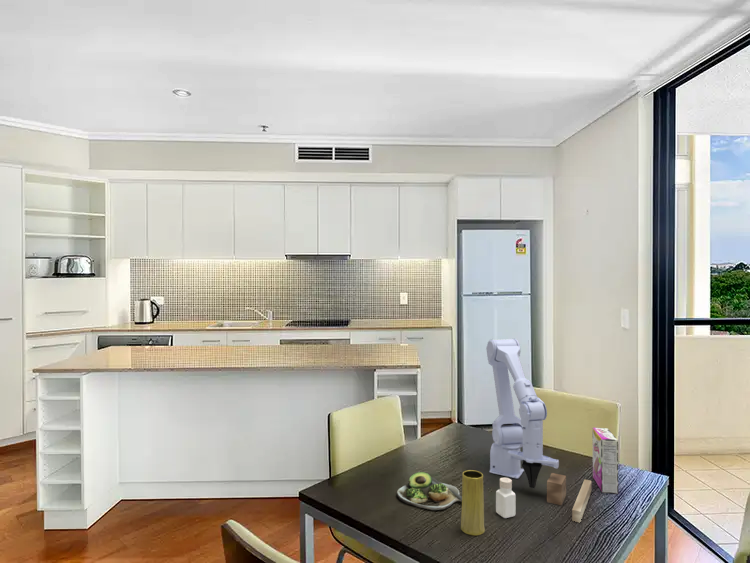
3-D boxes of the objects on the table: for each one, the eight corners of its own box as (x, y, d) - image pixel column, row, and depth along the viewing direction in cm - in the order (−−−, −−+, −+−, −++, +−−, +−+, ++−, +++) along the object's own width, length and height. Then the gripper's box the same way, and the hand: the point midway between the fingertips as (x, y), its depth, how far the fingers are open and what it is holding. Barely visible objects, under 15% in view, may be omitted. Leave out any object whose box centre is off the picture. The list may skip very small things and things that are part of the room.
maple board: (572, 520, 124) (572, 509, 124) (584, 489, 143) (584, 479, 143) (580, 523, 123) (580, 511, 123) (591, 490, 142) (591, 480, 142)
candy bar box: (591, 477, 151) (591, 426, 151) (608, 478, 150) (608, 427, 150) (600, 493, 140) (601, 438, 140) (618, 494, 139) (619, 439, 139)
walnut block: (546, 502, 135) (546, 481, 135) (551, 492, 140) (551, 472, 140) (561, 505, 132) (561, 484, 132) (566, 495, 138) (566, 475, 138)
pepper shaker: (495, 512, 128) (495, 478, 128) (506, 509, 130) (506, 475, 130) (504, 519, 125) (504, 484, 125) (516, 516, 126) (516, 481, 126)
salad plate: (476, 495, 139) (476, 480, 139) (449, 520, 125) (449, 503, 125) (420, 479, 151) (420, 464, 151) (389, 500, 136) (389, 484, 136)
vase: (457, 523, 123) (458, 469, 122) (480, 522, 123) (480, 468, 123) (464, 536, 116) (464, 479, 116) (488, 535, 117) (488, 478, 117)
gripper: (504, 440, 140) (504, 485, 141) (555, 450, 133) (555, 497, 133) (511, 434, 146) (511, 477, 146) (560, 442, 139) (560, 488, 139)
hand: (532, 486), depth 140 cm, fingers closed
